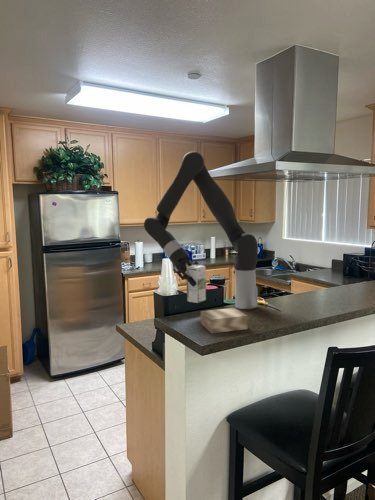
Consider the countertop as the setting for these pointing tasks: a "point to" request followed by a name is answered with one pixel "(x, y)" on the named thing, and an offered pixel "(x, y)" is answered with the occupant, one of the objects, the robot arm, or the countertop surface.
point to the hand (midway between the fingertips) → (199, 283)
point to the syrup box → (199, 290)
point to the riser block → (223, 320)
